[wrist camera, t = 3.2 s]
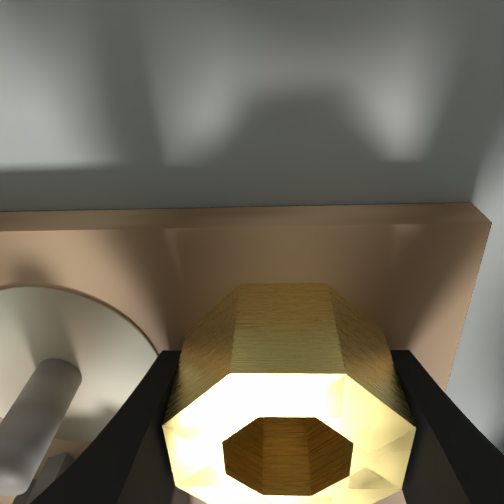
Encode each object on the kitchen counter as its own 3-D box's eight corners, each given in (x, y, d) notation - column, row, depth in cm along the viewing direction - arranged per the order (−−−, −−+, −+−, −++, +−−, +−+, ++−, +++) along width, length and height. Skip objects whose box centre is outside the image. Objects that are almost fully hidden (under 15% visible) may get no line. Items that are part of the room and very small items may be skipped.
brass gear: (390, 282, 11) (429, 373, 8) (368, 422, 14) (392, 525, 11) (179, 284, 11) (150, 373, 9) (200, 421, 14) (183, 521, 11)
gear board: (471, 202, 11) (597, 327, 7) (393, 525, 19) (428, 676, 15) (-171, 215, 12) (-415, 331, 8) (11, 517, 20) (-60, 657, 16)
